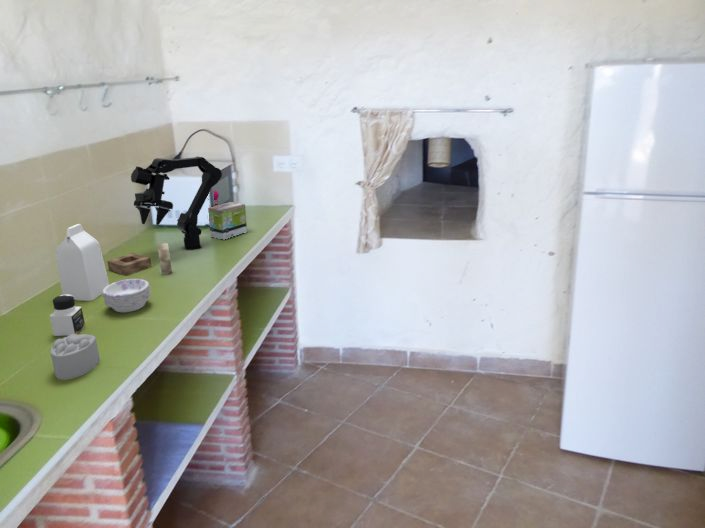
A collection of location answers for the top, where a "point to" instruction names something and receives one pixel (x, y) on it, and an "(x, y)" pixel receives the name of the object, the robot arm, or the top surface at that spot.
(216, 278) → the top surface
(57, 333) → the medicine bottle
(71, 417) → the top surface
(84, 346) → the lumpy-topped squat cylinder
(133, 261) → the brown rectangular frame
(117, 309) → the white patterned bowl
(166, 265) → the peg
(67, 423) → the top surface
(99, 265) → the milk
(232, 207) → the tea box
